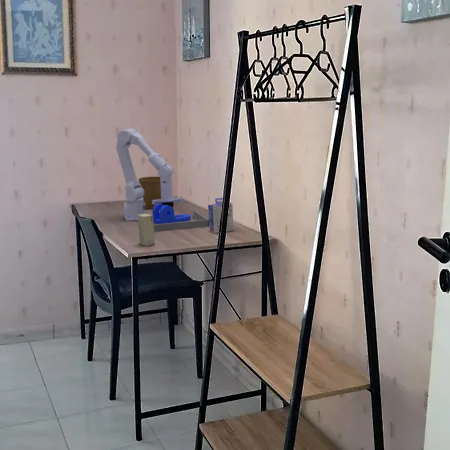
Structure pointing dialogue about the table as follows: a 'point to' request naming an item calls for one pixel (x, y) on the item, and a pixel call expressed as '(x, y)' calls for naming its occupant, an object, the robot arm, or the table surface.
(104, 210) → the table surface
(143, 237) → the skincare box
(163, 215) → the bracket
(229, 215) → the ink cartridge box
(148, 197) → the plant pot
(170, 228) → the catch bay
